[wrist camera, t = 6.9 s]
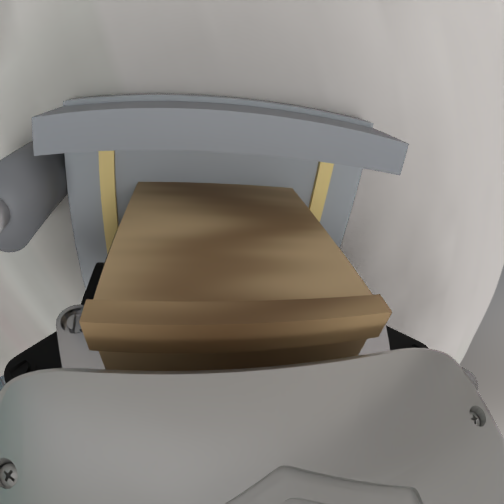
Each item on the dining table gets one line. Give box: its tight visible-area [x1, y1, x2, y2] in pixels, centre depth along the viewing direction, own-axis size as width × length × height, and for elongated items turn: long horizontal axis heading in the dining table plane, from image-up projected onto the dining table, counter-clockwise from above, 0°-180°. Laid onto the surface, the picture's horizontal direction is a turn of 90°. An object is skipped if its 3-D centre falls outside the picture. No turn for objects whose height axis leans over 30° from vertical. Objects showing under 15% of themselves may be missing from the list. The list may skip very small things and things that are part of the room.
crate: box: [79, 182, 392, 371], centre depth 10 cm, size 6×6×7 cm
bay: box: [0, 94, 409, 289], centre depth 13 cm, size 15×20×5 cm
